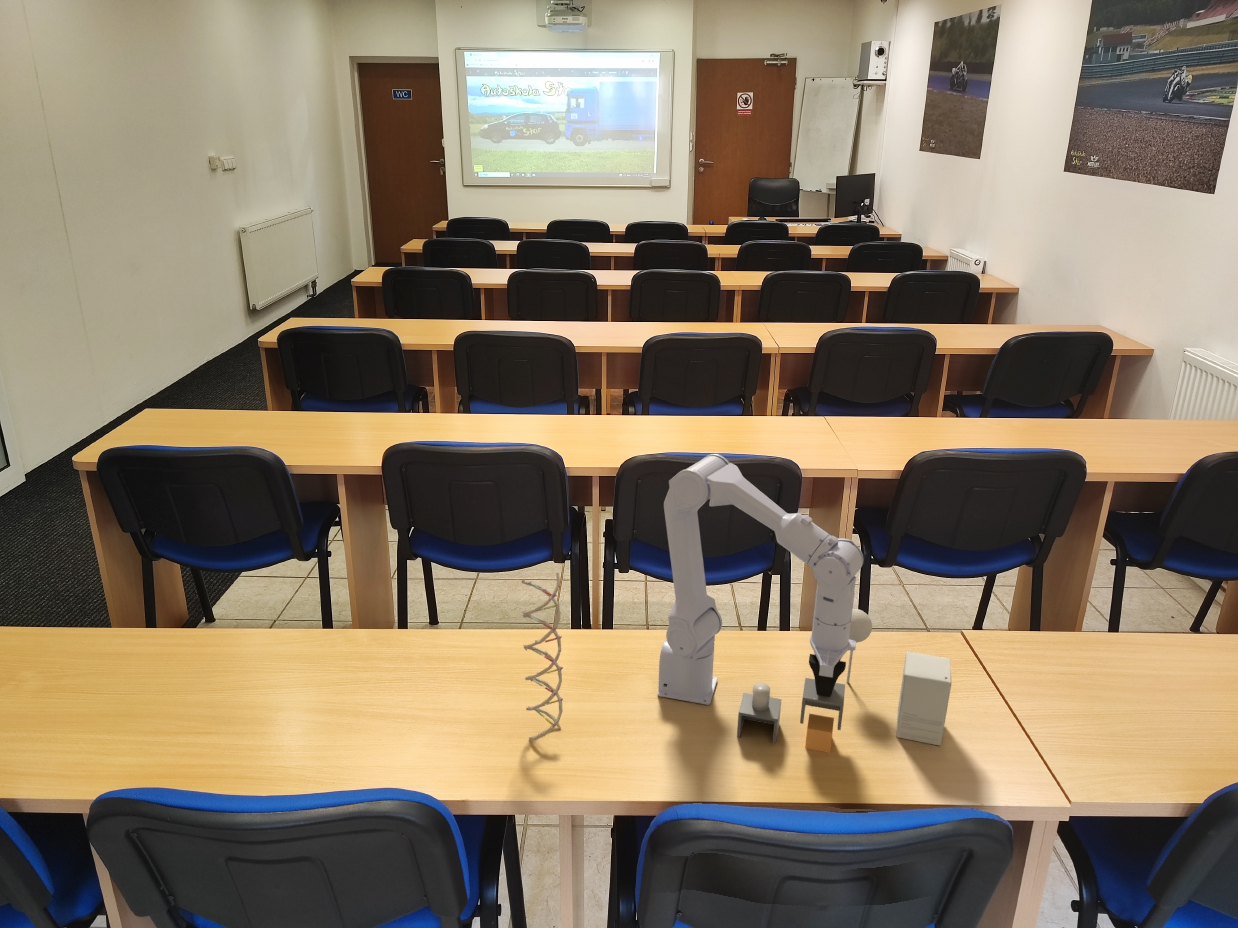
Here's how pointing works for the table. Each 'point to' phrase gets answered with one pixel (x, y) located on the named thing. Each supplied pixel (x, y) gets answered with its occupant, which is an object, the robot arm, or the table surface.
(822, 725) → the cube
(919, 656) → the supplement box
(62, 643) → the table surface
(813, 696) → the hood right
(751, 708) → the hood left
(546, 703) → the dna model
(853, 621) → the lollipop
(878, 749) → the table surface
